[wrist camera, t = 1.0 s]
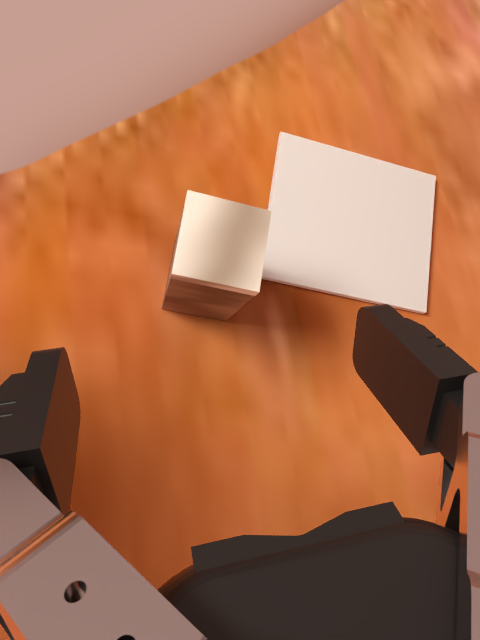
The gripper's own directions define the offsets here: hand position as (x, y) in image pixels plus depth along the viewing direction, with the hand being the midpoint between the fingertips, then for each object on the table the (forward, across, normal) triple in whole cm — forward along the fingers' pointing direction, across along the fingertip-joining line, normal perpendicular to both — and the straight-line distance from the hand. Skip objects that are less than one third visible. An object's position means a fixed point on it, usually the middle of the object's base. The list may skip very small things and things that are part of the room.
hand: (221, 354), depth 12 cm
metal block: (+22, -2, +8) cm, 23 cm away
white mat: (+25, -16, +5) cm, 30 cm away
